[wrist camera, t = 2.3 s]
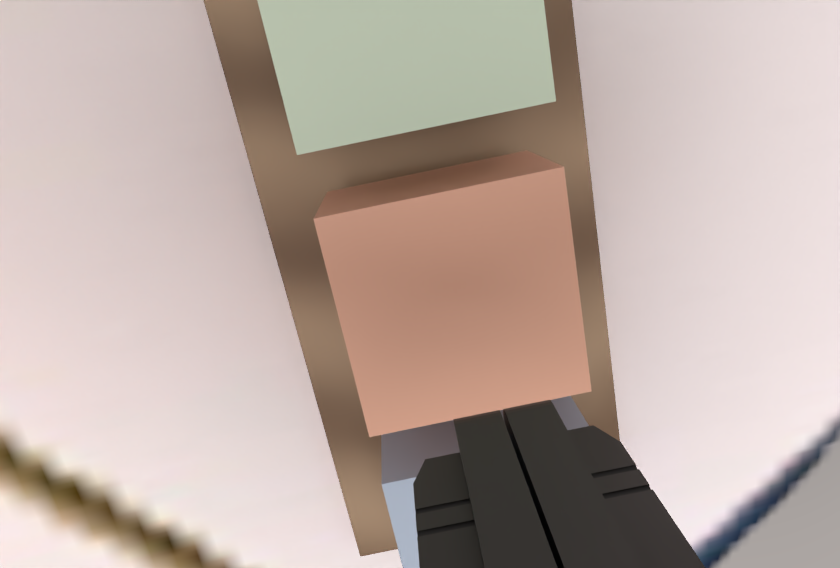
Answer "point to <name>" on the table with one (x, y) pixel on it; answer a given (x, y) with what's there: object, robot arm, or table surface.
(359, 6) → the button sage
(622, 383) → the table surface
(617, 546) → the robot arm
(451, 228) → the button terracotta
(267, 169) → the board
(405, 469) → the button slate
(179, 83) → the table surface
